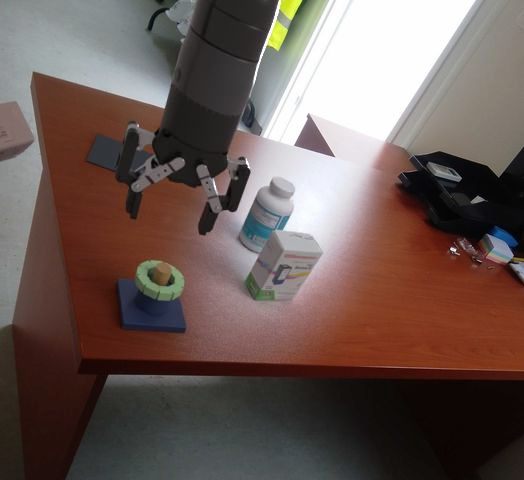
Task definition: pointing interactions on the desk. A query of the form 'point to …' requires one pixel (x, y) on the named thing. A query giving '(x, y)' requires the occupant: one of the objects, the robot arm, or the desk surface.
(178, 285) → the ring
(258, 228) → the pill bottle
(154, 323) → the stand
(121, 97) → the desk surface
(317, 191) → the desk surface
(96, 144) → the mat
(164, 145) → the robot arm
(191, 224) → the desk surface
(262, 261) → the ink box
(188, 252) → the desk surface
